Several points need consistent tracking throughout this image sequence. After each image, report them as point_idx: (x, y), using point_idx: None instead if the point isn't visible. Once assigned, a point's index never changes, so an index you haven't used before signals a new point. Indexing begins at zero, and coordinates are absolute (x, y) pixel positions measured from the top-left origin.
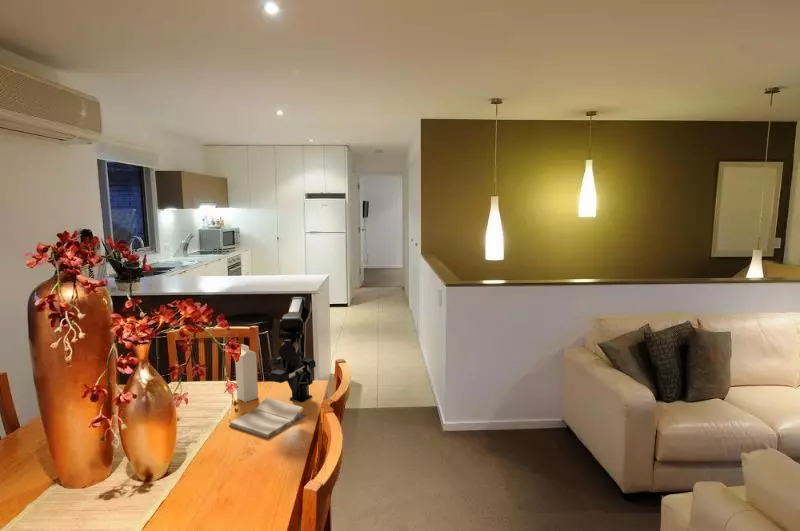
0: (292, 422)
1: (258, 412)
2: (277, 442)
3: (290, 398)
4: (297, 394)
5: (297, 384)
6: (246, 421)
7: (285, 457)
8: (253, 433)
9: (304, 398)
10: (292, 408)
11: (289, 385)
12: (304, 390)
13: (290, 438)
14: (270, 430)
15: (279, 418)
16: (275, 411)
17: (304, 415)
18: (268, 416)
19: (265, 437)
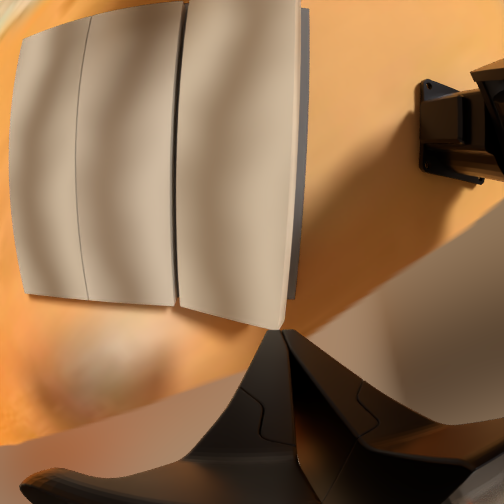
0: None
1: (155, 45)
2: (46, 335)
3: (425, 86)
4: (445, 143)
5: (298, 452)
6: (45, 90)
7: (33, 396)
8: None
9: (450, 169)
10: (251, 261)
11: (241, 384)
12: (483, 175)
13: (91, 361)
14: (45, 280)
15: (150, 227)
16: (198, 142)
17: (287, 296)
18: (136, 142)
19: None
